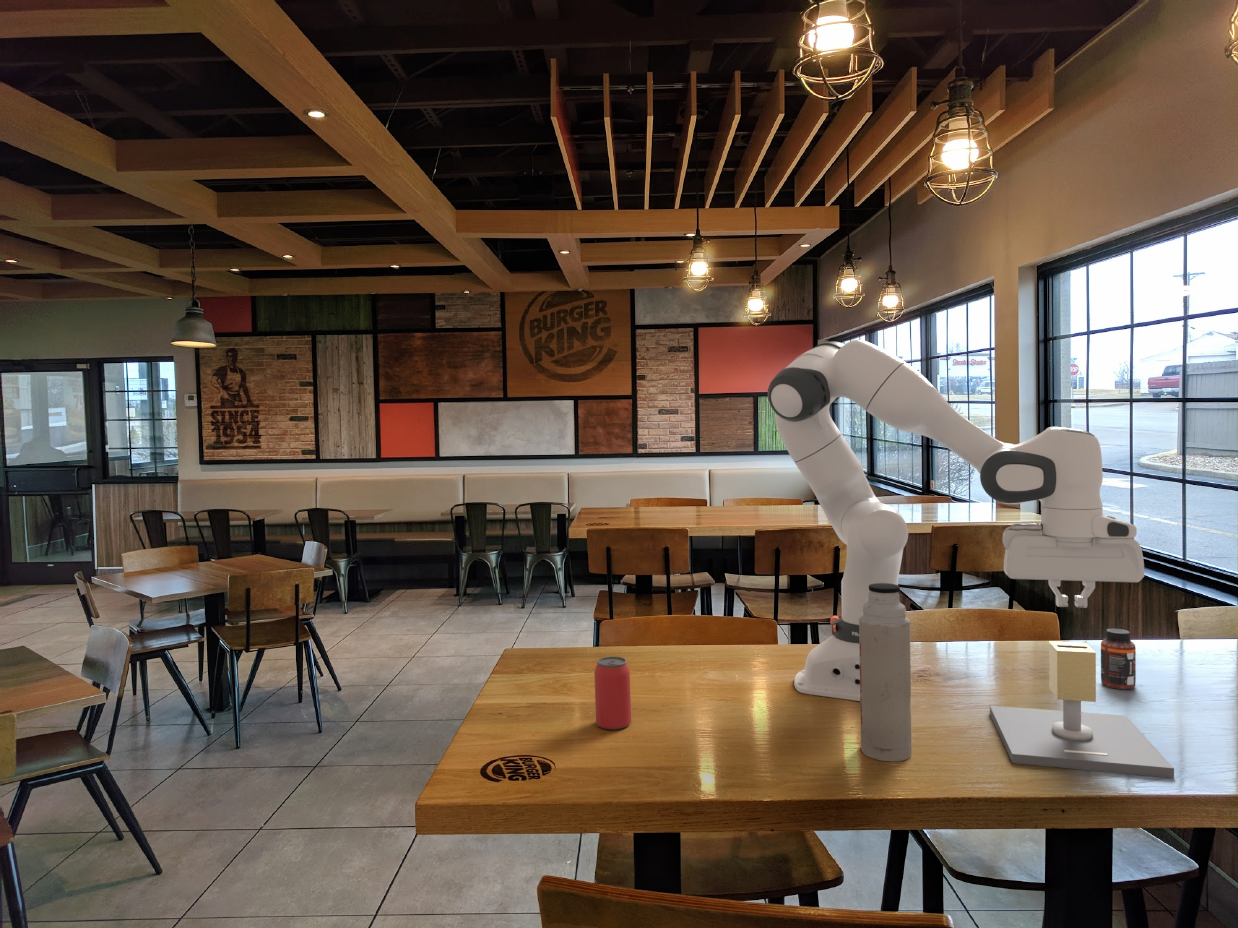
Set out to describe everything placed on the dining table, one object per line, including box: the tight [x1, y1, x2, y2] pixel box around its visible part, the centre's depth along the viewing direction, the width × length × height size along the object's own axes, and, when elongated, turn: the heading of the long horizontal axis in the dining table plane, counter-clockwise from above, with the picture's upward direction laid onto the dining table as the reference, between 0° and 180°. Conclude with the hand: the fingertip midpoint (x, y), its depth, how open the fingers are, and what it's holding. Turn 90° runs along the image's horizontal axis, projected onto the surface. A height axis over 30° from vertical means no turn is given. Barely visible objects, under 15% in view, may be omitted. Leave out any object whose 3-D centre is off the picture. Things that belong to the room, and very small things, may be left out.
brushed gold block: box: [1048, 640, 1097, 703], centre depth 129 cm, size 6×6×8 cm
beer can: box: [594, 656, 632, 731], centre depth 143 cm, size 7×7×12 cm
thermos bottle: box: [859, 583, 913, 763], centre depth 127 cm, size 8×8×28 cm
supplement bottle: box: [1100, 628, 1137, 690], centre depth 156 cm, size 6×6×11 cm
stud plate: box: [989, 700, 1175, 779], centre depth 129 cm, size 22×22×10 cm
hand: (1071, 606), depth 128 cm, fingers closed
